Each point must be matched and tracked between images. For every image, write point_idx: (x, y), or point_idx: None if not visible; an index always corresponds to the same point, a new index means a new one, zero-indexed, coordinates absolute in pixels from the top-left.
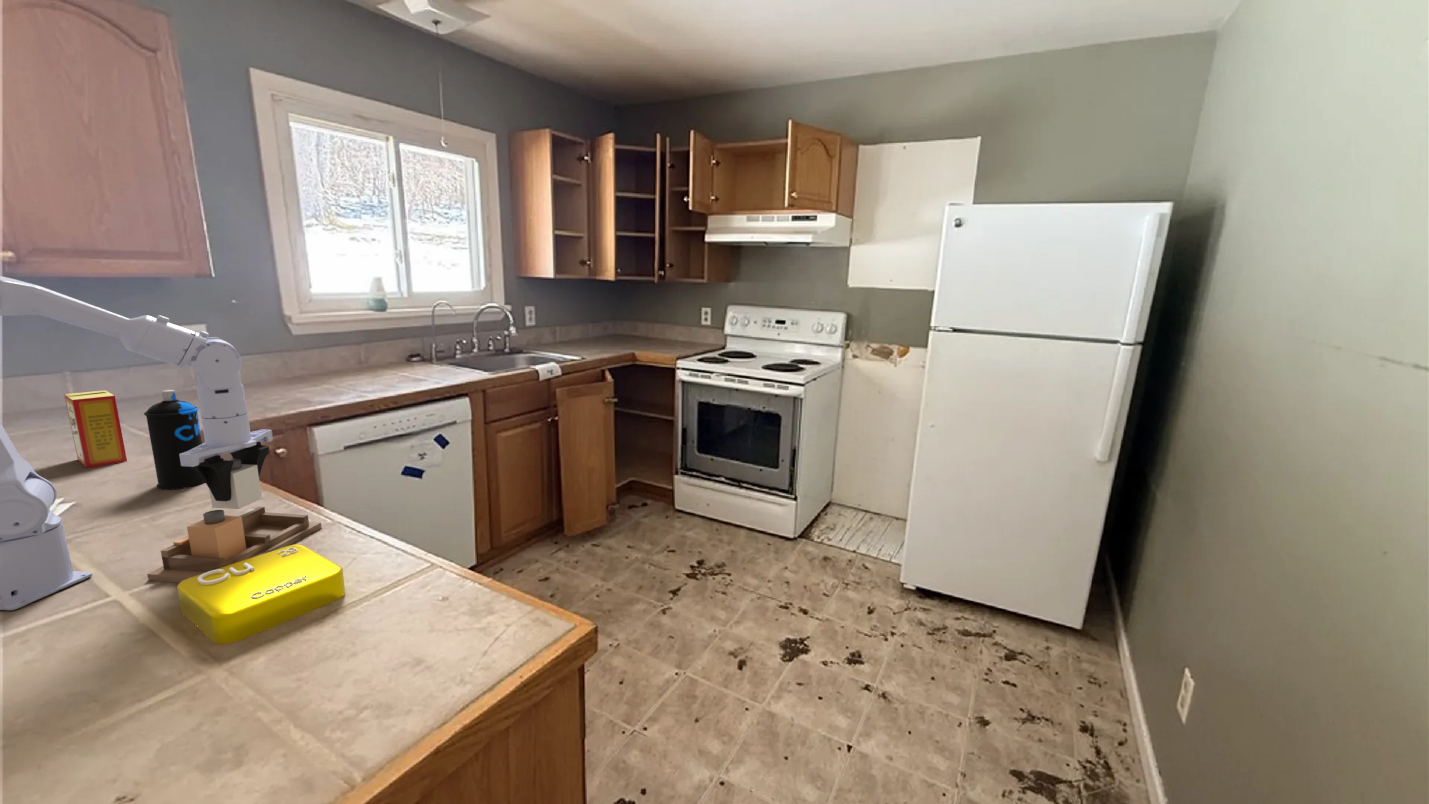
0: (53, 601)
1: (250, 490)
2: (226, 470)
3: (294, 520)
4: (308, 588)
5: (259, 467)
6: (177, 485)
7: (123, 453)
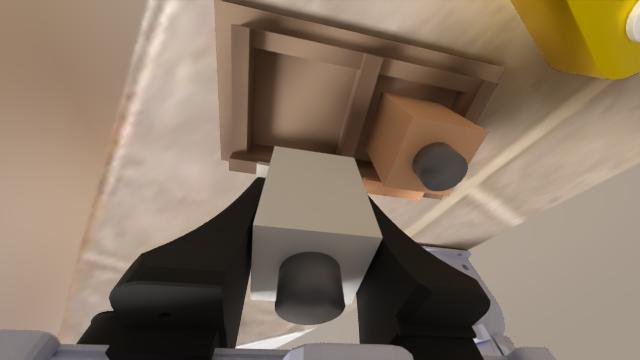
0: (456, 236)
1: (309, 171)
2: (423, 261)
3: (250, 61)
4: None
5: (234, 215)
6: None
7: None
